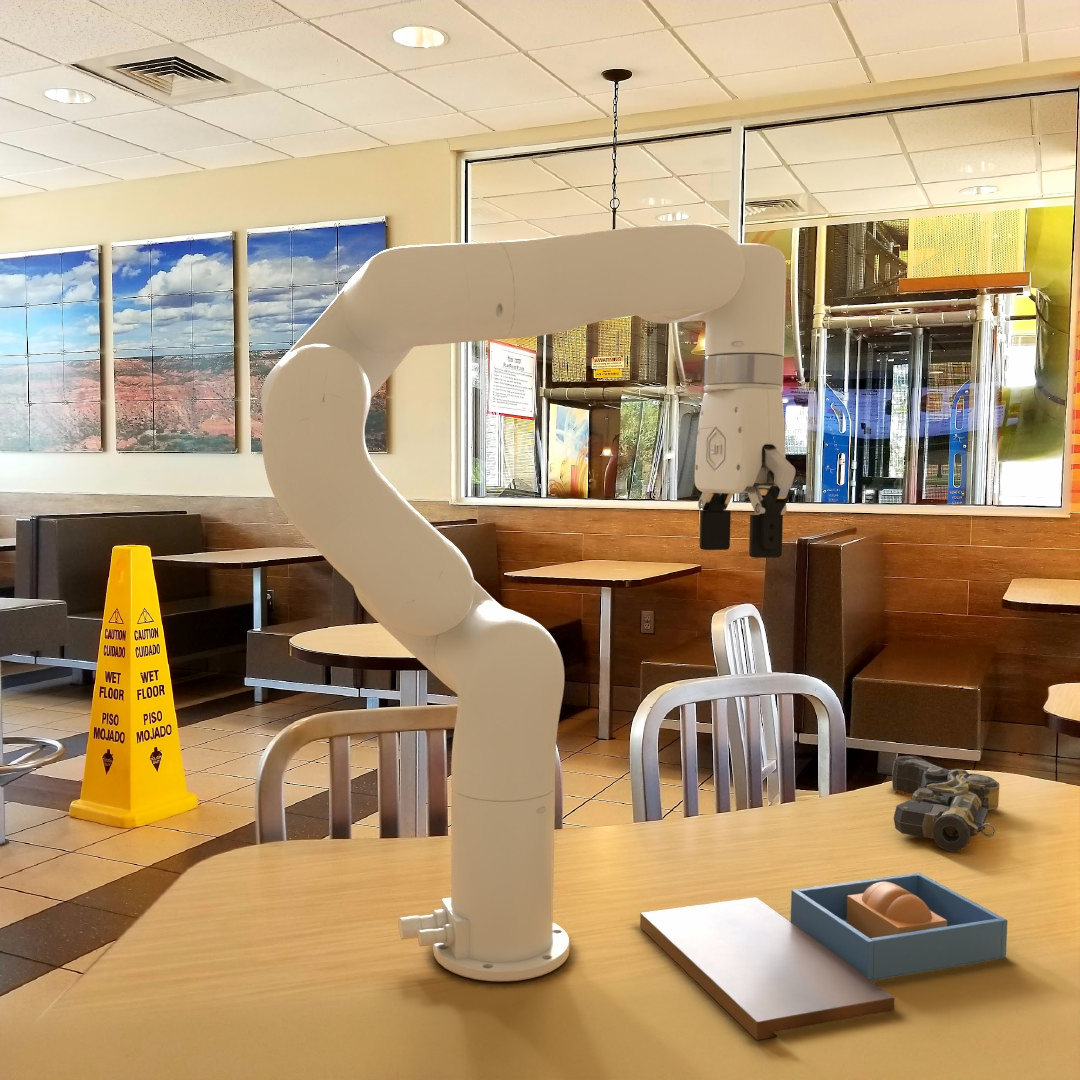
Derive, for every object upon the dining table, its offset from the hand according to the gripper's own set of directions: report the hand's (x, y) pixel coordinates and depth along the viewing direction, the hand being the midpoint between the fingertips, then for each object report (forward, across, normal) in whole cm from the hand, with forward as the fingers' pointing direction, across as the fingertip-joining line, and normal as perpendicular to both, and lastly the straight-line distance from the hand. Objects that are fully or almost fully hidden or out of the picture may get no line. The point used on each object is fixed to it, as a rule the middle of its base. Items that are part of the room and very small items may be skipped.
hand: (738, 553), depth 105 cm
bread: (+36, +10, +12) cm, 40 cm away
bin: (+37, +10, +12) cm, 40 cm away
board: (+37, +10, -3) cm, 38 cm away
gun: (+37, -20, +42) cm, 60 cm away
